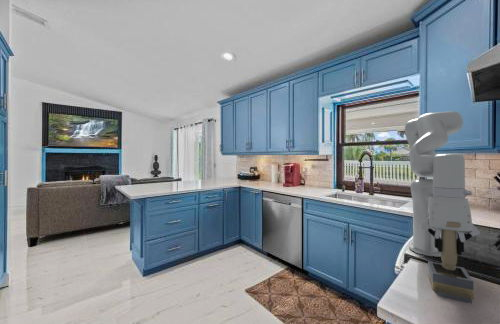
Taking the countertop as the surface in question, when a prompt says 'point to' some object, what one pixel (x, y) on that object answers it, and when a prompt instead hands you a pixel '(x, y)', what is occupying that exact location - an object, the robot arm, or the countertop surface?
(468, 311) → the countertop surface
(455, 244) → the handle
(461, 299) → the open grey tray
